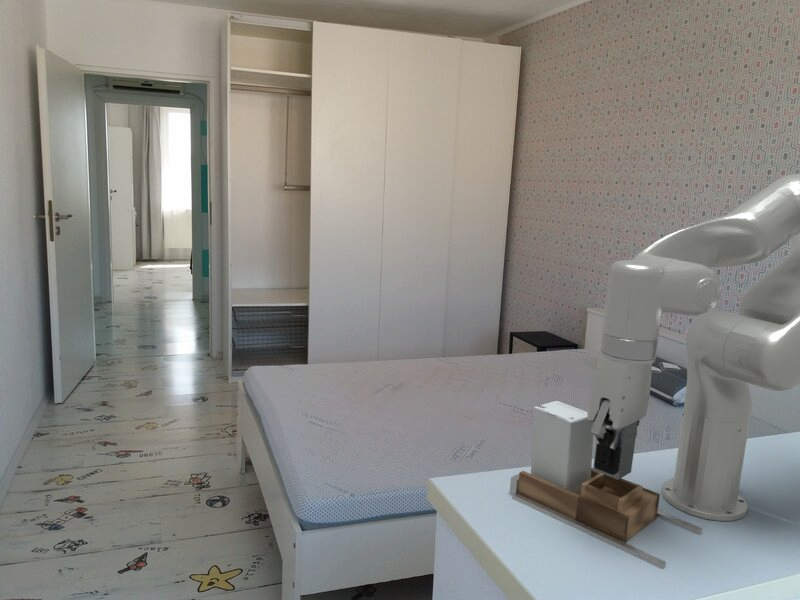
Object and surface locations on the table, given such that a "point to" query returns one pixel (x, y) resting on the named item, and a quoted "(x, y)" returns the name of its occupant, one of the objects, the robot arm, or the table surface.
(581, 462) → the skincare box
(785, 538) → the table surface
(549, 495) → the cradle
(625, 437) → the gray rectangular block
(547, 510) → the rail
